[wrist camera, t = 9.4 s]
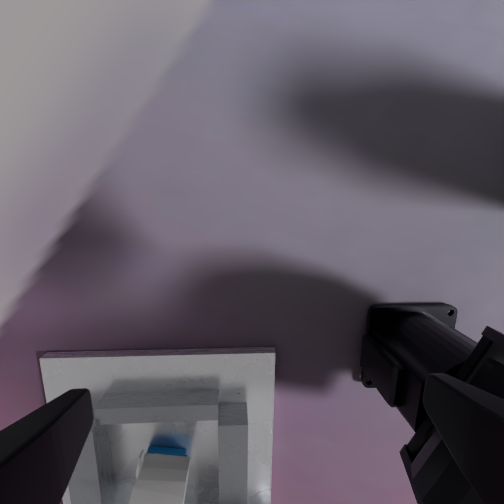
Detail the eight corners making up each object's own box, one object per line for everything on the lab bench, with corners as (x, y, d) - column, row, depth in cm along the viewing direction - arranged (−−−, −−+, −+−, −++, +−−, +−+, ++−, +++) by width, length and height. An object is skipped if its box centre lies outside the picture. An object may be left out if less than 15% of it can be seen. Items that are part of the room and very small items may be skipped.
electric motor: (129, 416, 20) (95, 489, 15) (196, 422, 20) (184, 494, 16) (122, 492, 21) (89, 582, 16) (185, 496, 22) (171, 584, 17)
